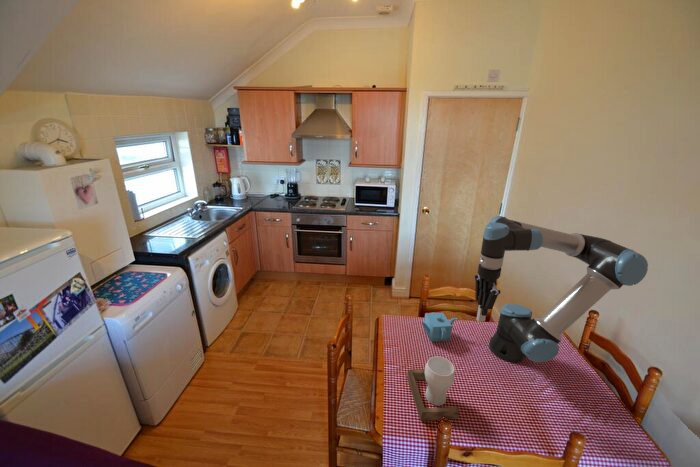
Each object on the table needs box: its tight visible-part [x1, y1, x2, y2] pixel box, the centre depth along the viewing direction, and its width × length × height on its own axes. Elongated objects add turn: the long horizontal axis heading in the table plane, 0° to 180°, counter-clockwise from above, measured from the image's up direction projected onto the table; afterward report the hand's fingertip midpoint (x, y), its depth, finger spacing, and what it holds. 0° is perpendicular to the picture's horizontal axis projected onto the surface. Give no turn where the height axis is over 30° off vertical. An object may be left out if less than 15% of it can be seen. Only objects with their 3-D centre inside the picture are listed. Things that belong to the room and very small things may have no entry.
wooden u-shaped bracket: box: [406, 368, 461, 422], centre depth 113 cm, size 14×19×4 cm
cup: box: [424, 356, 456, 406], centre depth 111 cm, size 11×11×15 cm
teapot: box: [420, 312, 458, 343], centre depth 145 cm, size 16×18×11 cm
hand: (480, 320), depth 116 cm, fingers closed
